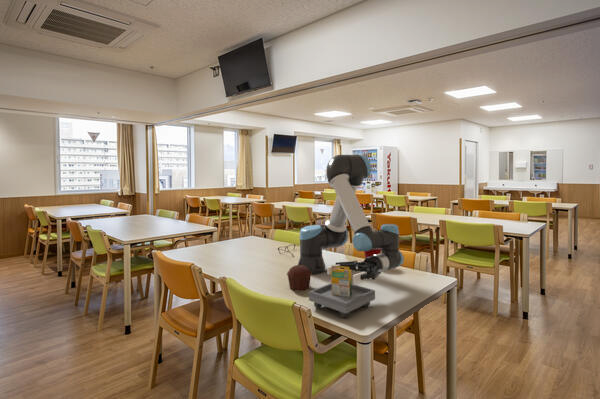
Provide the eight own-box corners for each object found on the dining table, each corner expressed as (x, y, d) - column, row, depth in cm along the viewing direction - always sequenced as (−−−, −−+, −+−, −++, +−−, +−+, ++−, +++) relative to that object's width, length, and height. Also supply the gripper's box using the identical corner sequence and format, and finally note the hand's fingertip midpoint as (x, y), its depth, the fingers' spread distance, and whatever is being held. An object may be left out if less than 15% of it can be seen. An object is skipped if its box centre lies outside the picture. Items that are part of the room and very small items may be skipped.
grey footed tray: (309, 307, 133) (308, 291, 132) (338, 295, 145) (338, 280, 145) (346, 321, 120) (346, 303, 119) (375, 306, 132) (375, 290, 132)
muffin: (315, 290, 152) (315, 268, 151) (291, 293, 148) (290, 271, 148) (307, 282, 163) (306, 261, 162) (284, 284, 160) (284, 263, 159)
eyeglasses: (295, 249, 232) (295, 243, 232) (311, 253, 220) (311, 247, 220) (276, 253, 221) (276, 247, 221) (292, 258, 209) (292, 251, 209)
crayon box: (352, 294, 132) (351, 265, 131) (349, 297, 129) (349, 267, 128) (333, 292, 135) (333, 263, 134) (331, 294, 132) (331, 265, 131)
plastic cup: (383, 270, 180) (383, 247, 179) (362, 269, 182) (362, 247, 181) (382, 264, 190) (382, 243, 189) (362, 263, 192) (362, 242, 191)
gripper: (401, 280, 135) (365, 293, 121) (353, 266, 154) (318, 276, 141) (401, 261, 134) (365, 272, 121) (353, 250, 153) (318, 258, 140)
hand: (340, 274), depth 131 cm, fingers open, 13 cm apart
